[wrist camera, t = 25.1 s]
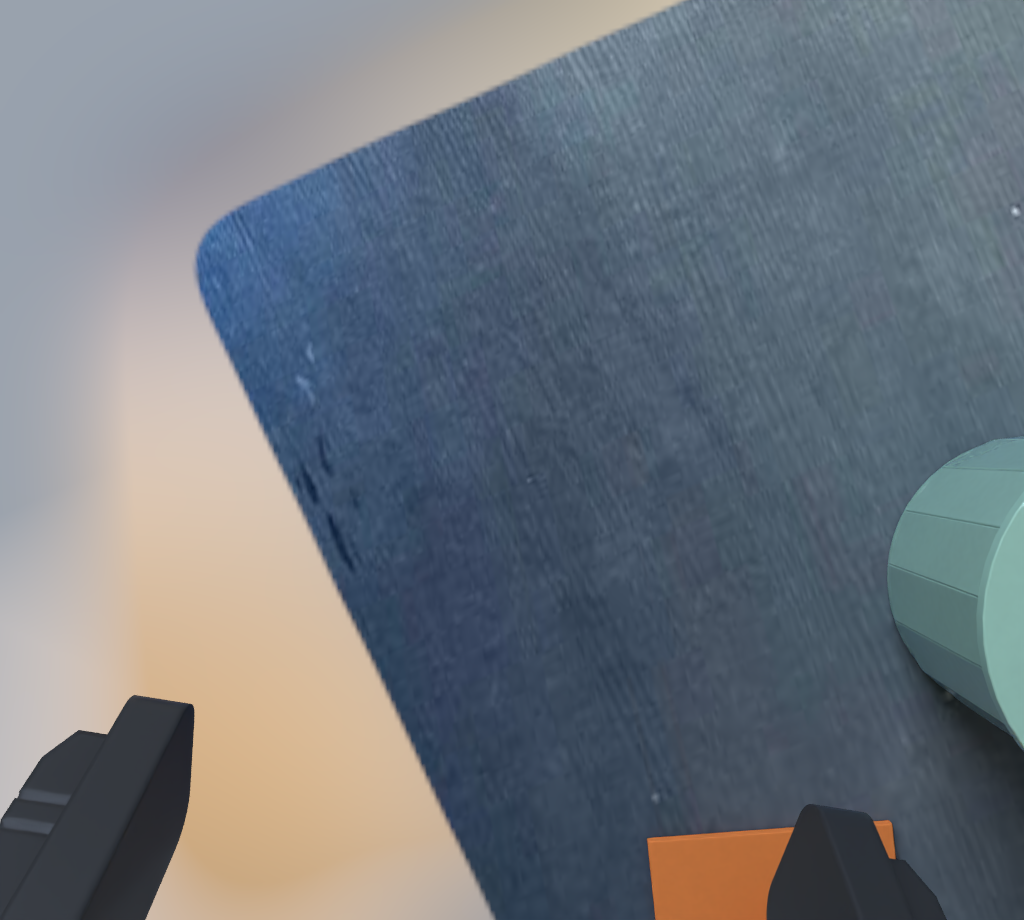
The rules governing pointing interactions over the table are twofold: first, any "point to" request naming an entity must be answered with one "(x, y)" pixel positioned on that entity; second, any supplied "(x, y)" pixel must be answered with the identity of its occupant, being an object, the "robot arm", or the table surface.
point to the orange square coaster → (722, 872)
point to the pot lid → (1004, 621)
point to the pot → (952, 565)
